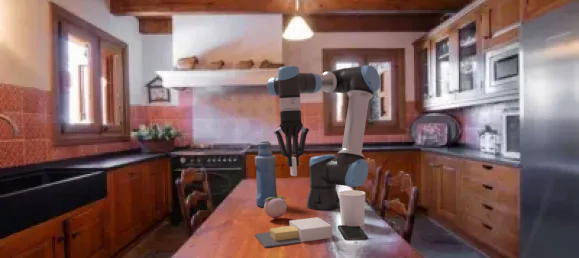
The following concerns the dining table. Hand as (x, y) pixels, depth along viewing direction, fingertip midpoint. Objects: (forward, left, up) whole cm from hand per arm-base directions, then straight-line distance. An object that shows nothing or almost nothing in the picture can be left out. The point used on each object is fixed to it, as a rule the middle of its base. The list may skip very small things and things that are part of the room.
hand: (293, 175), depth 139 cm
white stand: (-3, +8, -20) cm, 21 cm away
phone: (-17, +12, -20) cm, 29 cm away
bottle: (-1, -42, -20) cm, 47 cm away
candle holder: (-22, +3, -20) cm, 30 cm away
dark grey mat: (+9, +8, -20) cm, 23 cm away
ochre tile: (+7, +8, -19) cm, 22 cm away
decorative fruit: (+2, -16, -20) cm, 26 cm away
